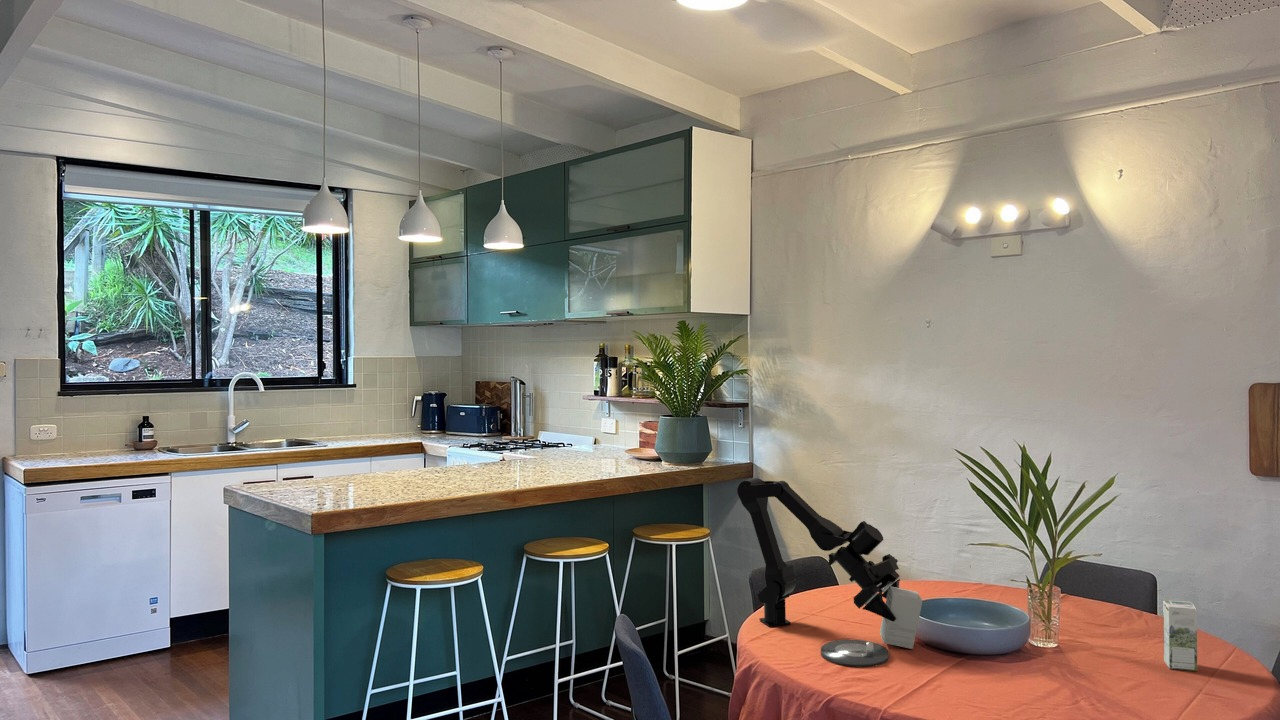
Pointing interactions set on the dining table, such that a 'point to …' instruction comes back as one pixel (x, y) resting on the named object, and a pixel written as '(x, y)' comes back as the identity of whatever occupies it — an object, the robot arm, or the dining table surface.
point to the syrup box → (1180, 635)
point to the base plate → (854, 653)
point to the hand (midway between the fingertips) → (901, 615)
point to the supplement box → (901, 617)
